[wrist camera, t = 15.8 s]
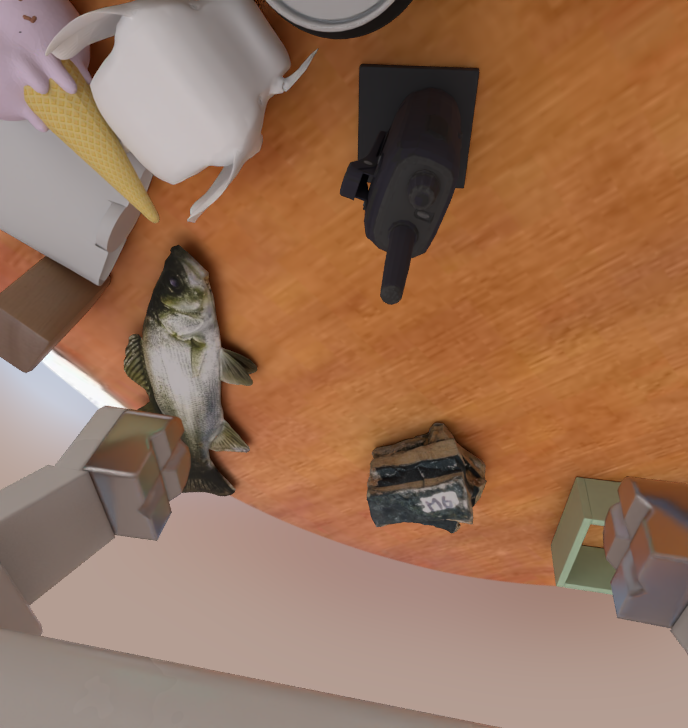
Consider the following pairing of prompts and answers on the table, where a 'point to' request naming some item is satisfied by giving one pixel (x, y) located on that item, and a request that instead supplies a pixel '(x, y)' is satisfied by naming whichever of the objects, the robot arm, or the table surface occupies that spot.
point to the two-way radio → (408, 182)
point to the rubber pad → (395, 82)
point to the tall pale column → (62, 201)
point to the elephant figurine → (184, 82)
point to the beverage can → (339, 15)
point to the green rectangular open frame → (568, 554)
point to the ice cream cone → (60, 93)
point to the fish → (188, 367)
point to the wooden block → (42, 311)
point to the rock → (425, 481)
